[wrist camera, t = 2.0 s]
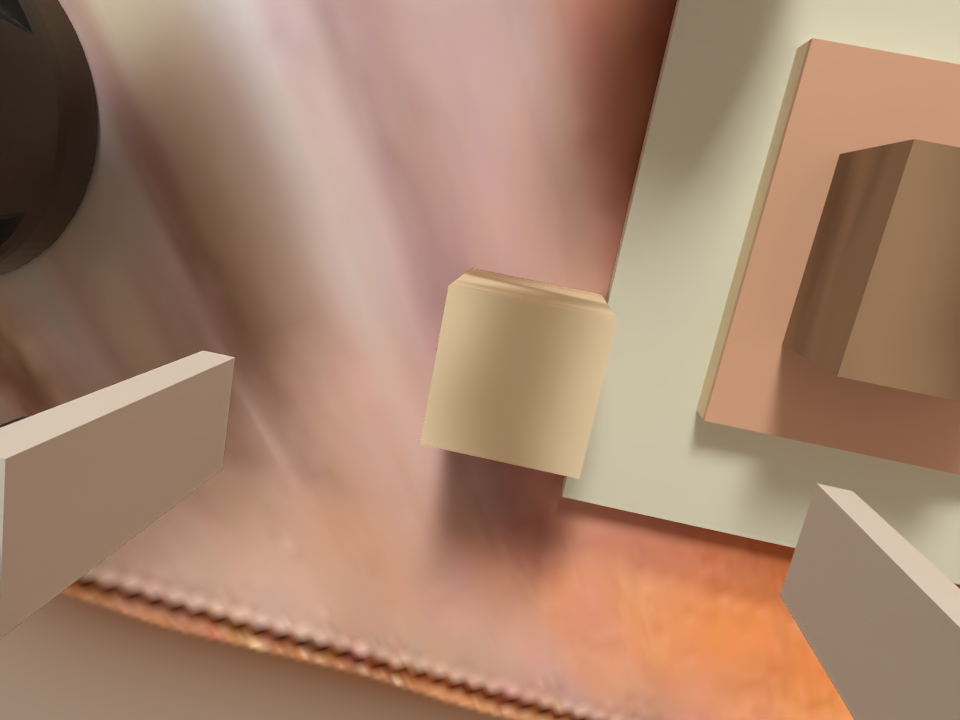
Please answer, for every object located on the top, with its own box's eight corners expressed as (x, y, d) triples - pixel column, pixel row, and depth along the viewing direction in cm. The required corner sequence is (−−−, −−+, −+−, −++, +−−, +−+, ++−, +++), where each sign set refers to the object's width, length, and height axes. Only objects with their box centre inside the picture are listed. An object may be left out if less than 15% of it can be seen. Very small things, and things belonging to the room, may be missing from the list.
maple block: (449, 391, 30) (419, 444, 23) (472, 268, 29) (448, 285, 22) (572, 417, 29) (579, 478, 23) (601, 294, 28) (617, 320, 21)
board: (561, 487, 30) (562, 511, 28) (703, -113, 25) (720, -149, 22) (1019, 588, 29) (1062, 622, 27) (1274, -17, 24) (1358, -43, 21)
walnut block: (782, 344, 25) (837, 376, 21) (839, 153, 24) (914, 138, 19) (971, 383, 25) (1073, 424, 20) (1042, 191, 23) (1172, 187, 19)
